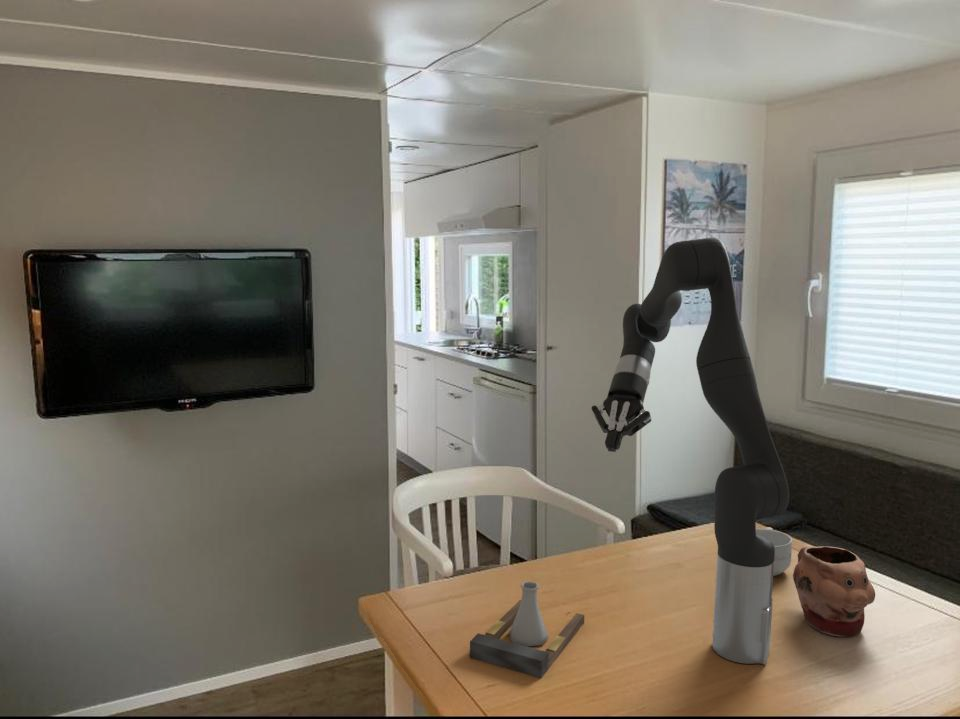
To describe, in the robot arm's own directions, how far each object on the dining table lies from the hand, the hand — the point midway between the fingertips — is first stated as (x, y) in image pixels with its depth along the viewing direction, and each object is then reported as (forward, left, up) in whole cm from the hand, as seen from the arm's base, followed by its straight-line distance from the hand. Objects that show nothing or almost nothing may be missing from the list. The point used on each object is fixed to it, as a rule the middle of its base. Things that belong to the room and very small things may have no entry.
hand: (611, 449), depth 149 cm
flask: (+6, +25, -30) cm, 40 cm away
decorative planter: (-41, -7, -30) cm, 51 cm away
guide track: (+6, +26, -30) cm, 40 cm away
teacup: (-28, -28, -30) cm, 50 cm away
